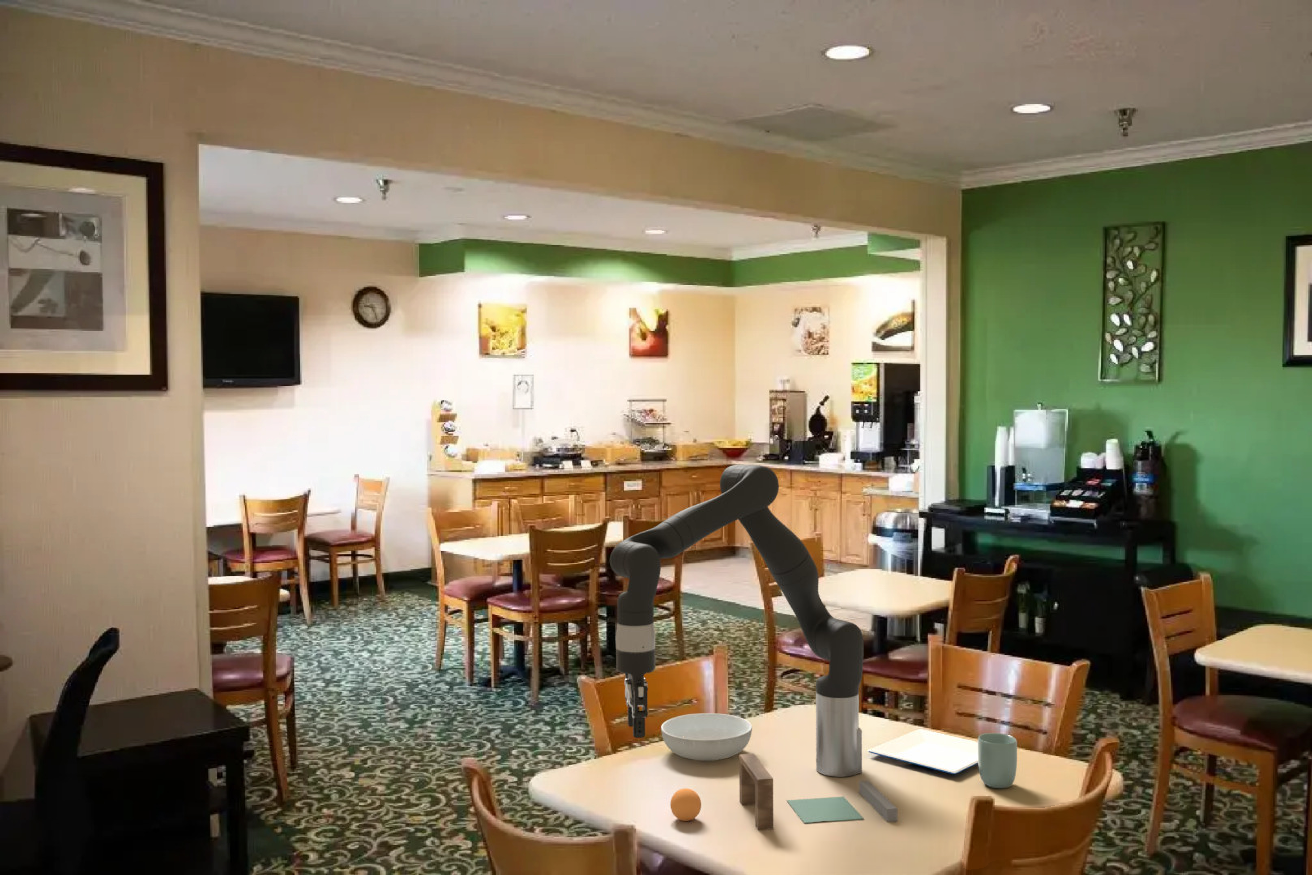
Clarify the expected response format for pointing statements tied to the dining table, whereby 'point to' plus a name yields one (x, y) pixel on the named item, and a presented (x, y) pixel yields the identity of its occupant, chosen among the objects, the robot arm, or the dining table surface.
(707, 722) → the serving bowl
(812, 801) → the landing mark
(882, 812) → the stopper
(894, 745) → the plate
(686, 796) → the ball
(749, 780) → the bridge
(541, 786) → the dining table surface
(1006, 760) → the cup
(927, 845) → the dining table surface
